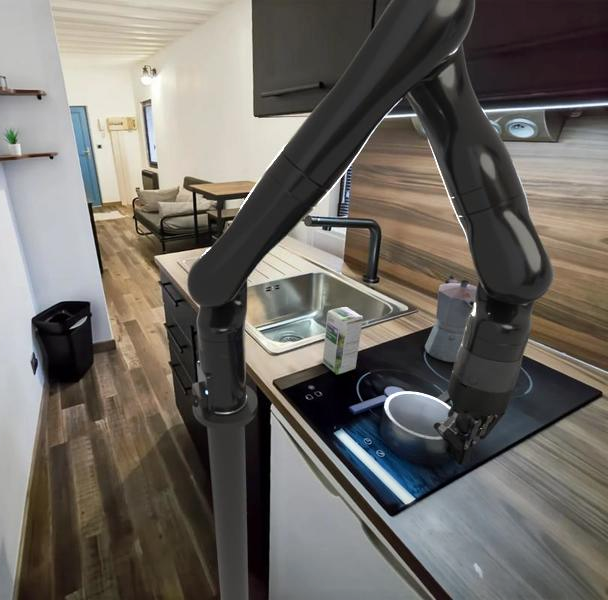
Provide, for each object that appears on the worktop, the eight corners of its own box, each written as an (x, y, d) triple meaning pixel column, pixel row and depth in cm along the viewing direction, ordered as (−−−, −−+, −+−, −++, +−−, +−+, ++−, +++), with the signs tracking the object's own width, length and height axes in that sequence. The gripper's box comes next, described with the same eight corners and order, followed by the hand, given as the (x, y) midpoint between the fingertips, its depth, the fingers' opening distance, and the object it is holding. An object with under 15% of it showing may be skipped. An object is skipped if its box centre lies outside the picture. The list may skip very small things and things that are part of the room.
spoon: (359, 419, 72) (359, 415, 72) (344, 405, 76) (344, 401, 76) (411, 400, 76) (412, 396, 76) (395, 387, 80) (396, 384, 80)
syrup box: (321, 362, 90) (325, 310, 84) (340, 356, 92) (346, 305, 86) (336, 375, 85) (342, 321, 79) (356, 368, 87) (364, 315, 81)
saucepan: (430, 477, 60) (438, 450, 57) (366, 433, 69) (370, 408, 66) (484, 426, 69) (493, 401, 66) (420, 393, 78) (426, 370, 75)
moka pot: (435, 369, 85) (455, 291, 77) (411, 335, 99) (426, 266, 90) (480, 370, 84) (505, 291, 75) (449, 335, 97) (468, 265, 89)
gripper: (489, 350, 59) (465, 431, 66) (427, 372, 55) (408, 455, 62) (542, 376, 52) (509, 463, 59) (475, 402, 48) (449, 491, 56)
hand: (458, 459), depth 61 cm, fingers closed
